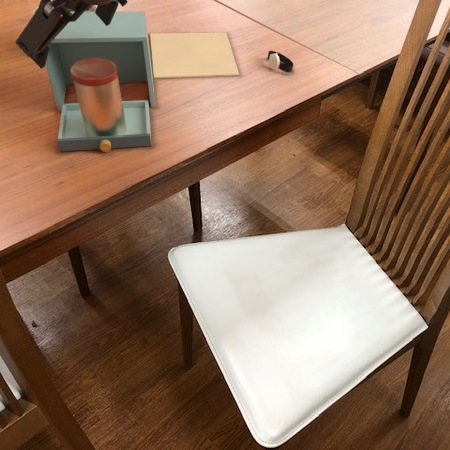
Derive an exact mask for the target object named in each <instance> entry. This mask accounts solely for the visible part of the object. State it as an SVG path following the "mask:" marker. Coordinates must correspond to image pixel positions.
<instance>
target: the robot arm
mask: <svg viewBox="0 0 450 450" xmlns="http://www.w3.org/2000/svg"><path fill="white" fill-rule="evenodd" d="M128 3H129V1H128V0H40V2H39V4H38V6H39V7H38V6H37V7H38V9H37V11H36V12H35V14H34V15H33V14H32V17H31V18H30V20H29V21H28V23H27V24H26V25H25V27H24V29H23V30H22V32H20V34H19V36H18V37H17V39H16V41H15V44H16V45H17V47H19V48H20V50H21V51H22V52H23V53H24V54H25V55H26V56H27V57H28V58H30V59H31V60H32V61H33V62H34V63H35V64H36V65H37V66H38V67H39V69H43V68H46V65H45V64H46V60H47V56H48V53H49V49H50V48H49V47H48V45H49V44H50V43H51V42H52V41H53V39H54V38H55V37H56V36H57V35H58V34H59V33H60V32H61V31H62V30H63V28H64V27H65V26H66V25H67V24H68V23H69V22H74V21H76V20H77V19H78V18H79V17H80V16H81V15H82V14H83V13H84V11H88V10H89V9H90V8H91V7H92V6H93V5H95V6H96V11H95V14H96V15H97V16H98V17H99V18H100V19H101V20H102V22H103V23H104V24H105V25H106V26H108V25H109V24H110V23H111V21H112V18H113V16H114V14H115V12H117V9H118V7H119V5H120V6H121V7H123V8H124V7H125V6H126V5H127V4H128ZM67 8H69V9H71V10H74V11H75V12H74V13H73V14H72V13H71V12H70V11H69V10H68V9H67Z"/></svg>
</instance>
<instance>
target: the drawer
mask: <svg viewBox="0 0 450 450" xmlns="http://www.w3.org/2000/svg"><path fill="white" fill-rule="evenodd" d="M122 104H123V109H124V115H125V121H126V127H127V130H126V132H125V133H124V134H123V135H114V136H97V137H89V136H88V135H87V134H86V131H85V127H84V123H83V118H82V114H81V110H80V106H79V102H74V103H73V102H72V103H70V102H69V103H64V104H63V105H62V111H60V113H61V114H60V120H59V128H58V135H57V138H56V143H57V147H58V151H59V152H72V151H74V152H76V151H89V150H90V151H91V150H100V151H102V152H106V153H108V152H110V151H111V149H120V148H137V147H152V133H151V132H152V131H151V119H150V118H151V117H150V106H149V105H150V104H149V100H148V99H144V100H143V99H142V100H122Z"/></svg>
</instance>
